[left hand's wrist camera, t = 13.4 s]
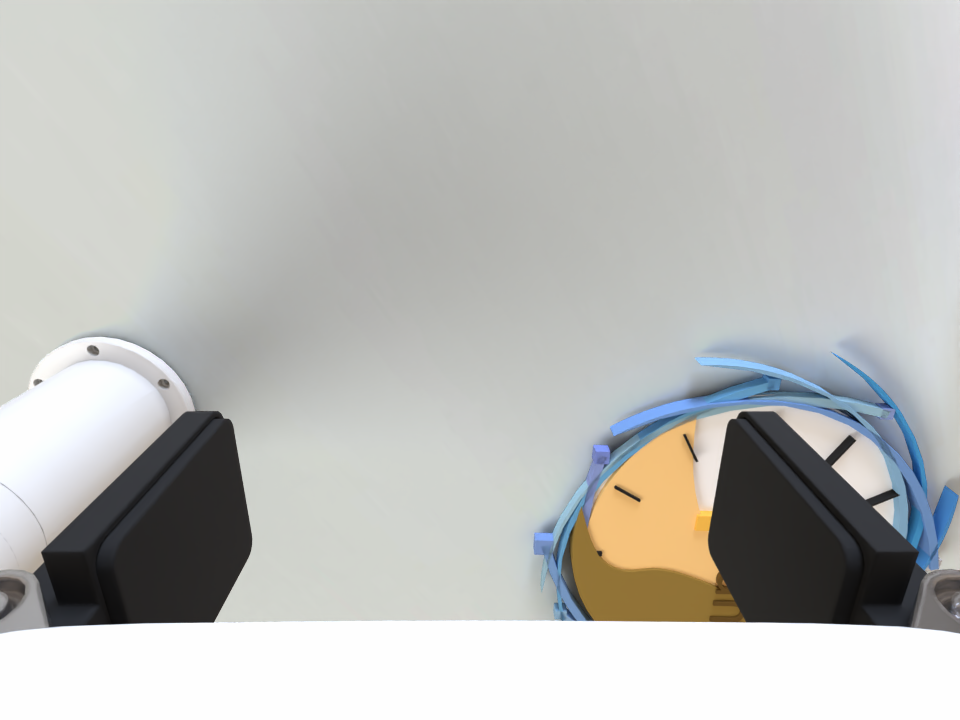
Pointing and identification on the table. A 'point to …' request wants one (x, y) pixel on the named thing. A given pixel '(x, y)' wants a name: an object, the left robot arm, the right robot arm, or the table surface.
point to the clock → (691, 491)
